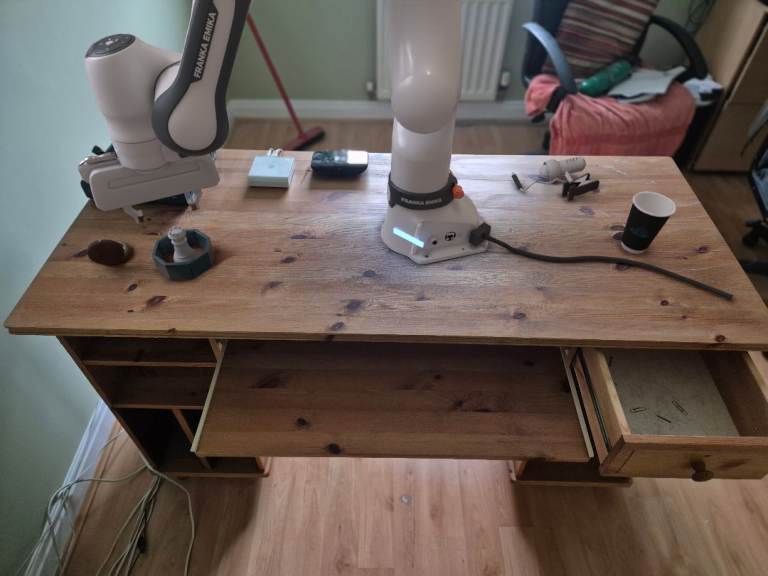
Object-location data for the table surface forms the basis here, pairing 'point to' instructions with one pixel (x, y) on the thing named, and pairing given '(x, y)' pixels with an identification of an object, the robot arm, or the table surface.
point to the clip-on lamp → (566, 167)
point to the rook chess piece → (181, 245)
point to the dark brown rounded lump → (108, 252)
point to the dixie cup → (646, 220)
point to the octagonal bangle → (184, 268)
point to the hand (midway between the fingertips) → (168, 215)
